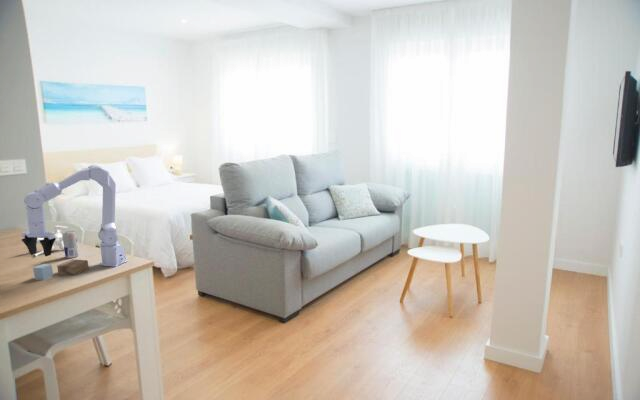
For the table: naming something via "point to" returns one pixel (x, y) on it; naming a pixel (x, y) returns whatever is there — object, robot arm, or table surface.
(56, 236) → the person figurine
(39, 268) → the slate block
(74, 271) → the walnut block
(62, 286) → the table surface
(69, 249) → the energy drink
